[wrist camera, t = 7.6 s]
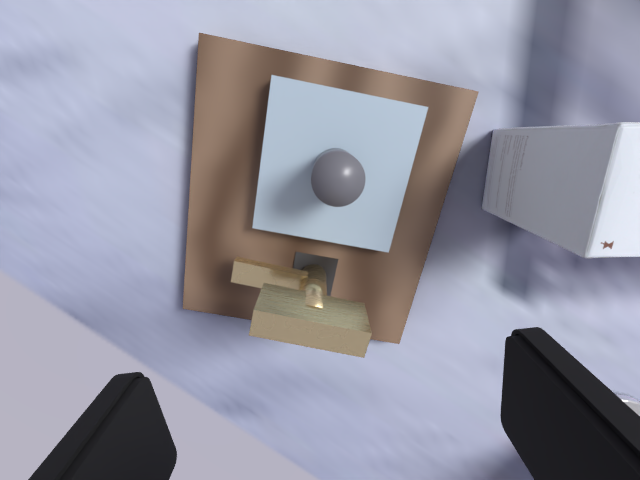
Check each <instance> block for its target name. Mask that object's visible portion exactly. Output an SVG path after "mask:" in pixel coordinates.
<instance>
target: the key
mask: <svg viewBox="0 0 640 480" xmlns="http://www.w3.org/2000/svg"><path fill="white" fill-rule="evenodd" d="M231 282H233V283H238V284H243V285H248V286H252V287H257V288H262V289H261V292H260V294H259V297H258V300H257V302H256V305H255V308H254V311H253V316H252V321H251V327H250V332H249V336H255V337H260V338H265V339H270V340H275V341H280V342H285V343H291V344H296V345H301V346H306V347H311V348H316V349H321V350H327V351H332V352H337V353H342V354H347V355H352V356H358V357H363V358H364V356H365V353H366V350H367V347H368V344H369V341H370V338H371V335H372V332H371V328H370V324H369V320H368V316H367V312H366V308H365V304H364V303H360V302H356V301H351V300H346V299H341V298H336V297H331V296H327V285H326V272H325V270H324V269H323V268H322V267H321V266H319V265H316V264H311V265H308V266H306V267H304V268H303V270H298V269H293V268H288V267H284V266H279V265H274V264H269V263H265V262H260V261H255V260H250V259H246V258H241V257H236V259H235V260H234V265H233V271H232V277H231Z"/></svg>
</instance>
